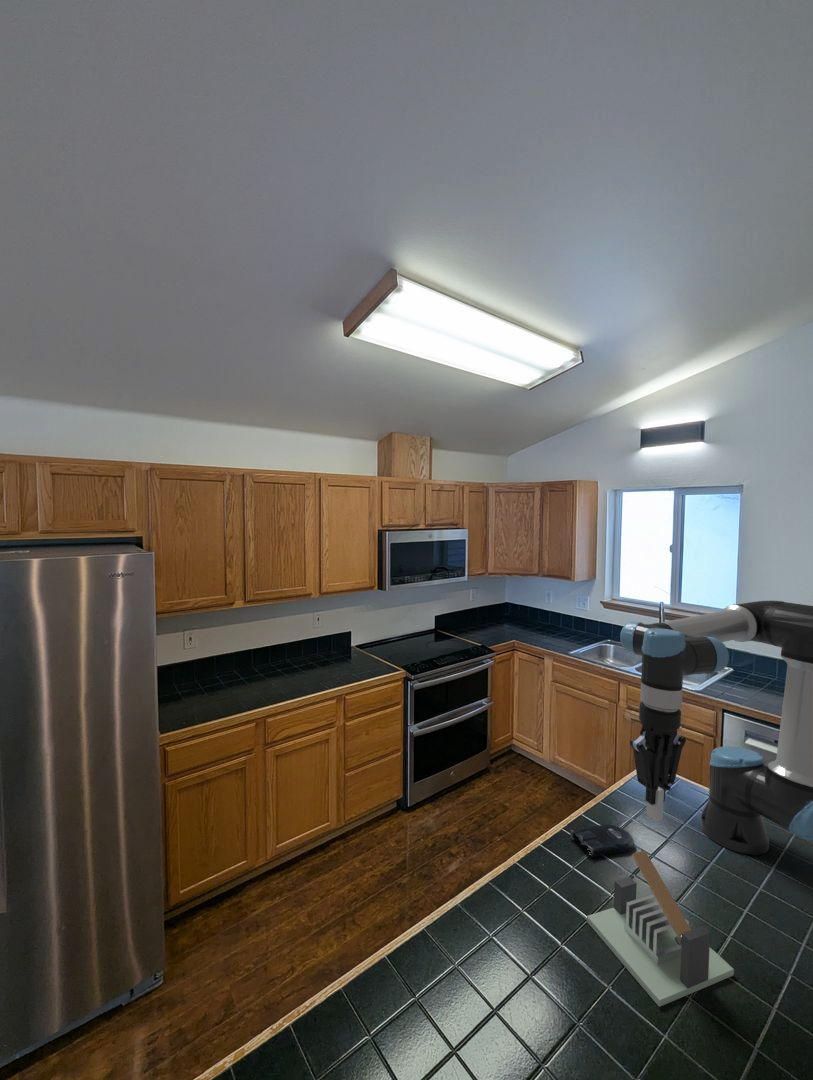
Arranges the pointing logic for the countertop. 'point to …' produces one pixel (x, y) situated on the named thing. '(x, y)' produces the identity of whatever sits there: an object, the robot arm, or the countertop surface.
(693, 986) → the board
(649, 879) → the strap
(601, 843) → the electronic device
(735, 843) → the robot arm
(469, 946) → the countertop surface
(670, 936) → the heatsink
